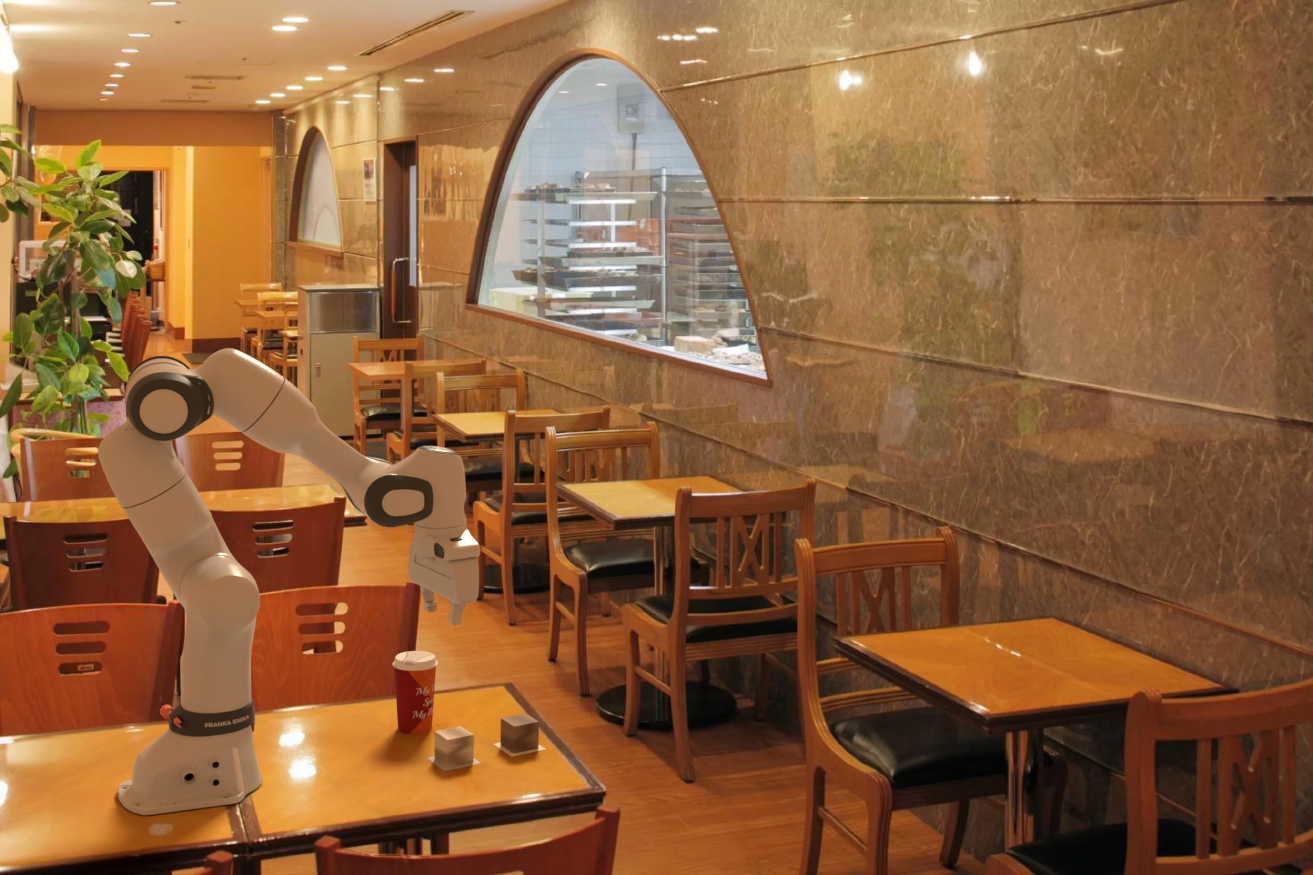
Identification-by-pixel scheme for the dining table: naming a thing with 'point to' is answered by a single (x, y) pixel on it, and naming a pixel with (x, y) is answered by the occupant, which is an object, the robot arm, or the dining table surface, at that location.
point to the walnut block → (519, 733)
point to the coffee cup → (415, 690)
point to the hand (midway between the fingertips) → (442, 617)
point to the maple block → (454, 746)
